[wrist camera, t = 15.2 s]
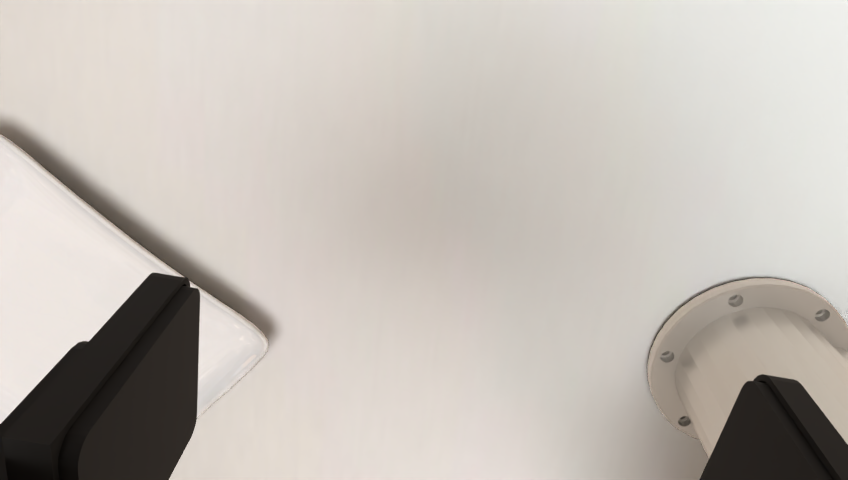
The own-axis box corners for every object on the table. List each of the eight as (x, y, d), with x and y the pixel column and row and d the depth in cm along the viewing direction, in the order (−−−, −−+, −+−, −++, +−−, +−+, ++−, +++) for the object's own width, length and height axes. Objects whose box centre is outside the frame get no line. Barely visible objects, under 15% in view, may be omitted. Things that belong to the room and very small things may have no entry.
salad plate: (7, 103, 39) (-32, 118, 36) (287, 319, 45) (275, 348, 42) (-136, 321, 46) (-178, 349, 43) (121, 485, 52) (100, 520, 49)
